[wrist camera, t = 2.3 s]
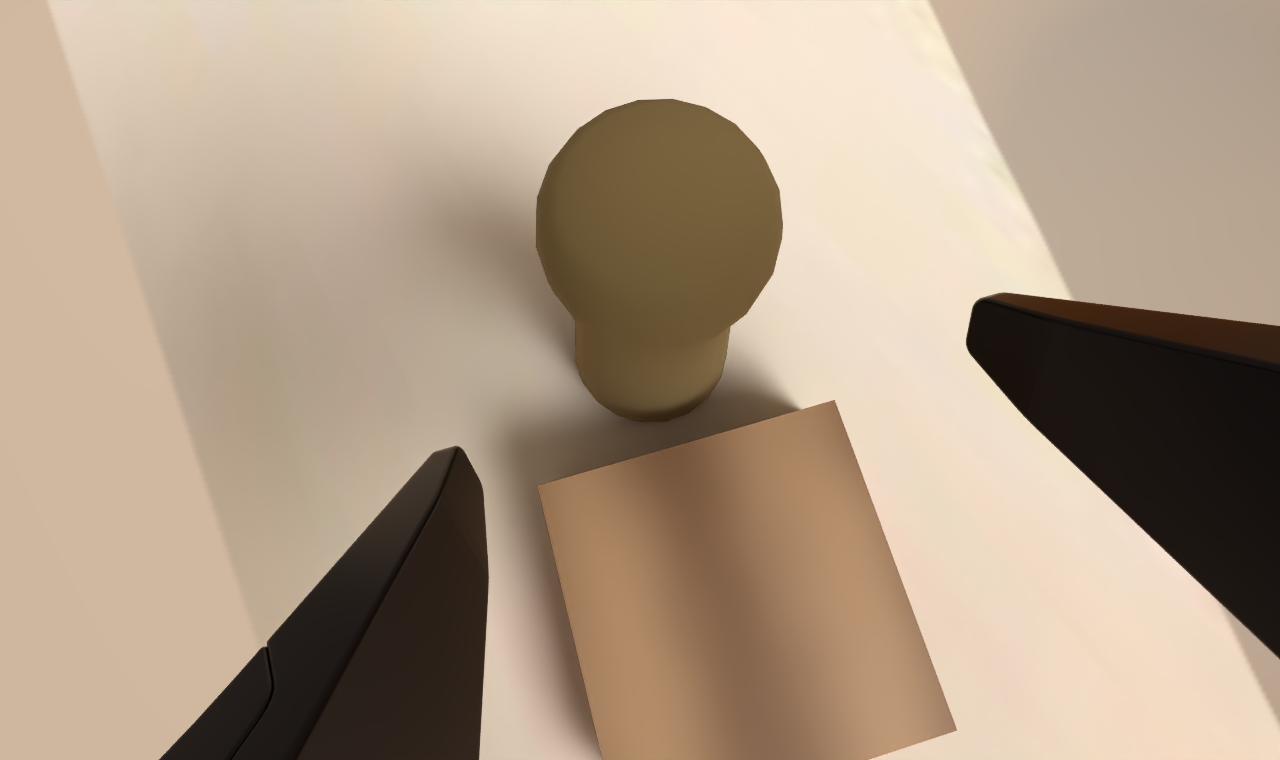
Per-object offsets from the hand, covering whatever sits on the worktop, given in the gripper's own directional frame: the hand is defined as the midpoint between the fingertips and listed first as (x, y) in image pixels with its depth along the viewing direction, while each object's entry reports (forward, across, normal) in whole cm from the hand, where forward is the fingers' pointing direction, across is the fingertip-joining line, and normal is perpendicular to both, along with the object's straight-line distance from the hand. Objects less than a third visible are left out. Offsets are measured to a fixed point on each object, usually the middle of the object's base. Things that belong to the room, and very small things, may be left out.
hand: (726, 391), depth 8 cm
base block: (+4, 0, +11) cm, 12 cm away
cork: (+10, 0, +5) cm, 12 cm away
